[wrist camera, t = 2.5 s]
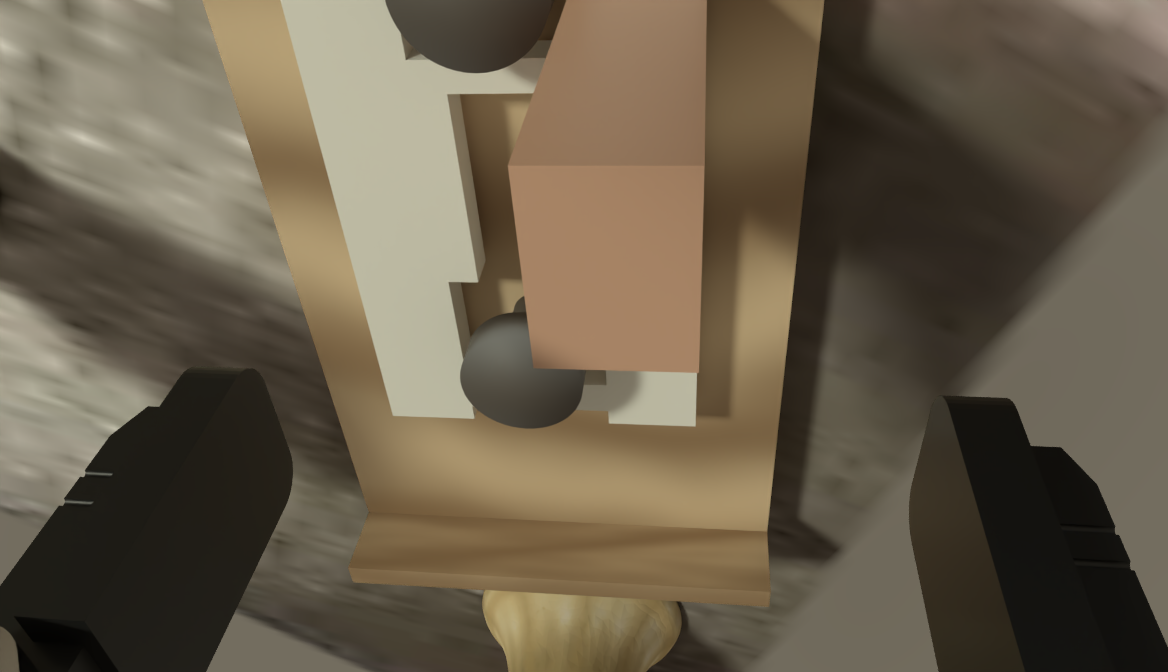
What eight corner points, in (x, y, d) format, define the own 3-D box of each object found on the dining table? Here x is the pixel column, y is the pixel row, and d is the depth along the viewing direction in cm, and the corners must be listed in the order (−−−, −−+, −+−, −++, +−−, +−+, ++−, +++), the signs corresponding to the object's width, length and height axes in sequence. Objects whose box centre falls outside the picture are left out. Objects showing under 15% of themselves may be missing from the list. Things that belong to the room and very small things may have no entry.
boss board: (73, -537, 16) (-100, -571, 13) (878, -621, 14) (930, -686, 11) (385, 494, 34) (348, 597, 30) (763, 512, 32) (769, 622, 29)
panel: (156, -564, 14) (-348, -703, 8) (721, -624, 13) (732, -851, 6) (401, 393, 28) (299, 658, 21) (696, 402, 27) (690, 685, 20)
